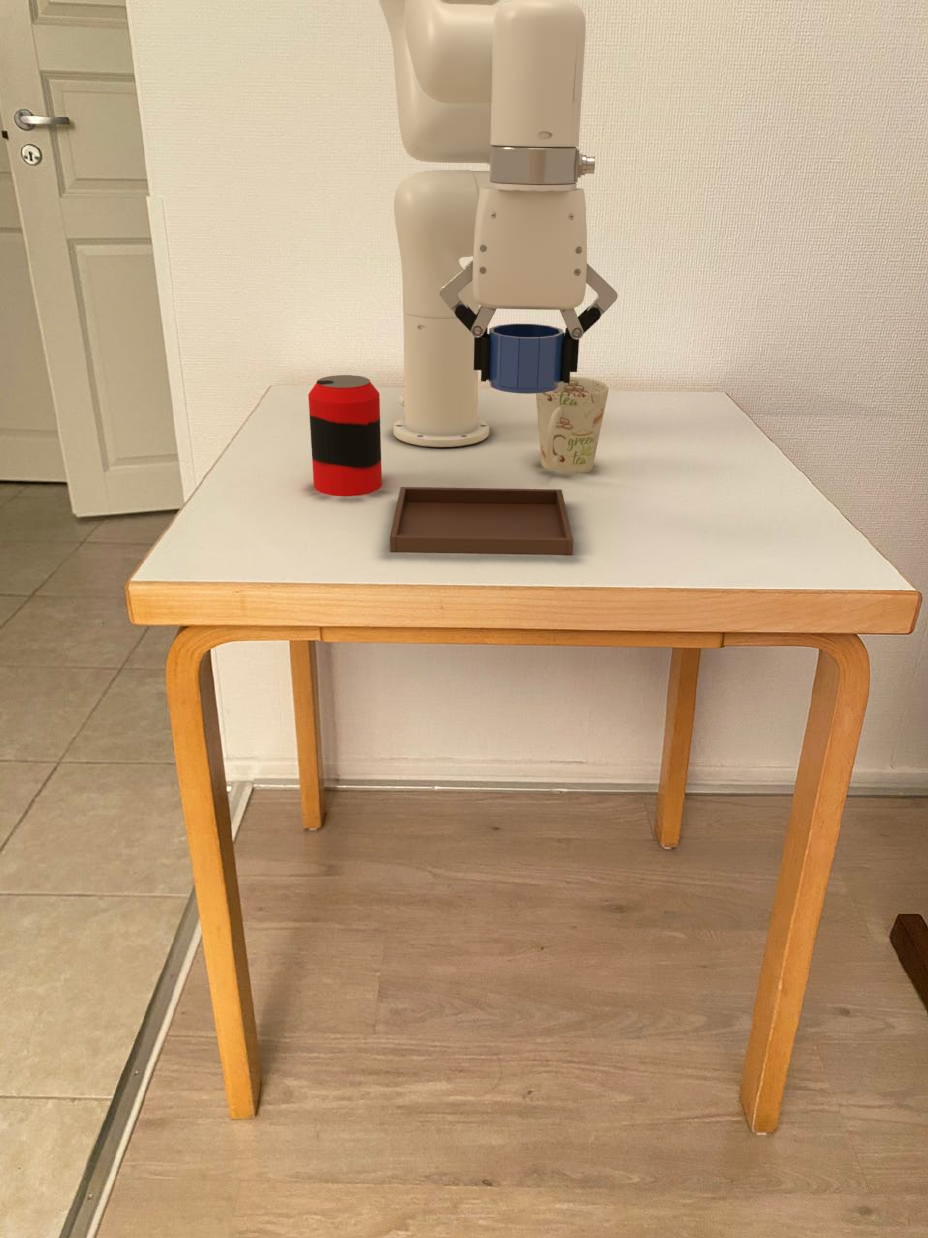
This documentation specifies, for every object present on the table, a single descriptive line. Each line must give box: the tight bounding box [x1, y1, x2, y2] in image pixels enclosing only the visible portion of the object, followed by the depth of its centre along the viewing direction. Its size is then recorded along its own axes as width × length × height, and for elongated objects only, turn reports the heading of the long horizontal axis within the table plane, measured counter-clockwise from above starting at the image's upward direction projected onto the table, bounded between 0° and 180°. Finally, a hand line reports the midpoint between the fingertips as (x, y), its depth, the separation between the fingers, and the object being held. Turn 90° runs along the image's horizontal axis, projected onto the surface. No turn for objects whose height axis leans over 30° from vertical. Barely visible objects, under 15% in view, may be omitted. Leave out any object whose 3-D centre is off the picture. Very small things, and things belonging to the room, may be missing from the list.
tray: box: [389, 486, 574, 556], centre depth 98 cm, size 17×14×2 cm
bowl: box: [488, 323, 565, 395], centre depth 91 cm, size 7×7×5 cm
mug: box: [535, 376, 609, 474], centre depth 112 cm, size 8×13×10 cm, turn 161°
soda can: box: [307, 374, 383, 497], centre depth 106 cm, size 8×8×12 cm
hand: (524, 377), depth 92 cm, fingers closed on bowl, 6 cm apart
